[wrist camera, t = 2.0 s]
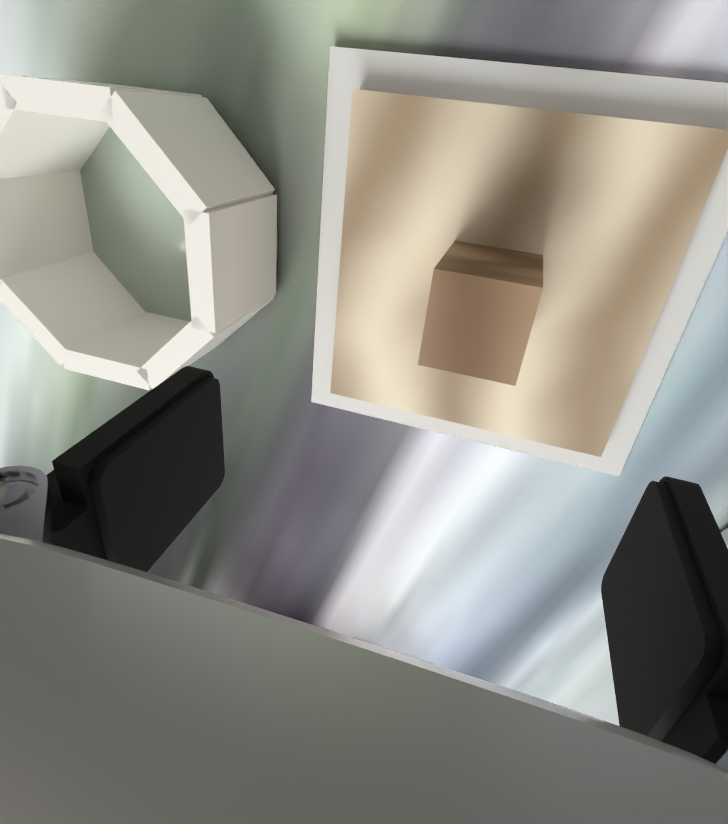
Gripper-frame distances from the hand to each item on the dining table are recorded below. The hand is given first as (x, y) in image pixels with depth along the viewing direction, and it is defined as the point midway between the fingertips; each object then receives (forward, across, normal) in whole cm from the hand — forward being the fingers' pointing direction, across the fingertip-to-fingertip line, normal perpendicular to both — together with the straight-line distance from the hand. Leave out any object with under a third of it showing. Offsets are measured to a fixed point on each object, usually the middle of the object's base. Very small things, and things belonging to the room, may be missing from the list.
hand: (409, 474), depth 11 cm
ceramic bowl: (+18, +17, 0) cm, 25 cm away
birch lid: (+17, -1, 0) cm, 17 cm away
